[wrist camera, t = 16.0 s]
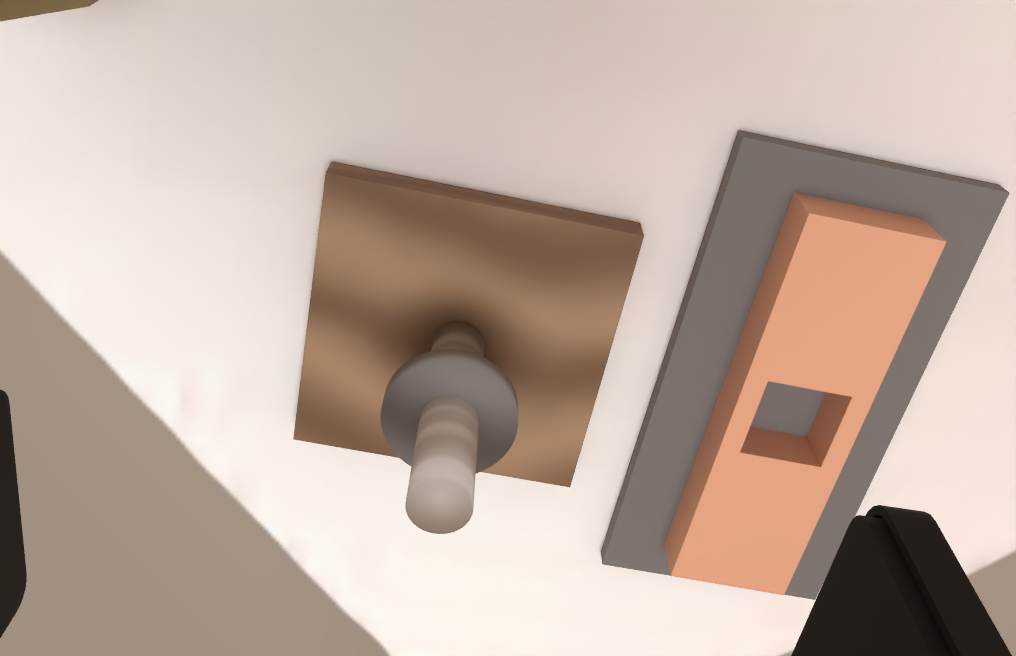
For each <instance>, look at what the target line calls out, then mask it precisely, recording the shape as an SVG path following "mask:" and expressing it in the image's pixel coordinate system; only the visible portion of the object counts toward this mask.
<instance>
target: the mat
mask: <svg viewBox="0 0 1016 656" xmlns="http://www.w3.org/2000/svg"><path fill="white" fill-rule="evenodd" d="M794 192H795V193H800V194H805V195H810V196H814V197H819V198H824V199H829V200H834V201H838V202H843V203H848V204H853V205H858V206H862V207H867V208H872V209H877V210H882V211H887V212H891V213H896V214H901V215H906V216H911V217H915V218H920V219H924V220H925V221H926V222H927V223H928V224H929V225H930V226H931V227H932V228H933V229H934V230H935V231H936V232H937V233H938V234H939V235H940V236H941V237H942V238H943V239H944V240H945V241H946V244H945V246H944V248H943V251H942V253H941V255H940V257H939V259H938V262H937V264H936V266H935V268H934V270H933V272H932V275H931V277H930V279H929V281H928V283H927V285H926V288H925V290H924V292H923V294H922V296H921V298H920V301H919V303H918V305H917V307H916V309H915V311H914V314H913V316H912V318H911V320H910V322H909V325H908V327H907V329H906V331H905V333H904V335H903V338H902V340H901V342H900V344H899V346H898V348H897V351H896V353H895V355H894V357H893V359H892V361H891V364H890V366H889V368H888V370H887V372H886V374H885V377H884V379H883V381H882V383H881V385H880V388H879V390H878V392H877V394H876V396H875V398H874V401H873V403H872V405H871V407H870V409H869V411H868V414H867V416H866V418H865V420H864V422H863V424H862V427H861V429H860V431H859V433H858V435H857V437H856V440H855V442H854V444H853V446H852V448H851V450H850V453H849V455H848V457H847V459H846V461H845V464H844V466H843V468H842V470H841V472H840V474H839V477H838V479H837V481H836V483H835V485H834V487H833V490H832V492H831V494H830V496H829V498H828V500H827V503H826V505H825V507H824V509H823V511H822V513H821V516H820V518H819V520H818V522H817V524H816V527H815V529H814V531H813V533H812V535H811V537H810V540H809V542H808V544H807V546H806V548H805V550H804V553H803V555H802V557H801V559H800V561H799V563H798V566H797V568H796V570H795V572H794V574H793V576H792V579H791V581H790V583H789V585H788V587H787V590H786V592H785V594H784V595H790V596H796V597H802V598H808V599H814V600H815V599H816V597H817V595H818V592H819V590H820V588H821V586H822V584H823V582H824V580H825V578H826V576H827V574H828V571H829V569H830V567H831V565H832V562H833V560H834V558H835V556H836V553H837V551H838V549H839V547H840V544H841V542H842V540H843V538H844V535H845V533H846V531H847V528H848V526H849V524H850V523H851V521H852V519H853V518H854V517H855V515H856V513H857V511H858V509H859V507H860V505H861V502H862V500H863V498H864V496H865V494H866V492H867V490H868V488H869V486H870V484H871V482H872V479H873V477H874V475H875V473H876V471H877V469H878V467H879V465H880V463H881V461H882V459H883V456H884V454H885V452H886V450H887V448H888V446H889V444H890V442H891V440H892V438H893V435H894V433H895V431H896V429H897V427H898V425H899V423H900V421H901V419H902V417H903V415H904V412H905V410H906V408H907V406H908V404H909V402H910V400H911V398H912V396H913V394H914V392H915V389H916V387H917V385H918V383H919V381H920V379H921V377H922V375H923V373H924V371H925V369H926V366H927V364H928V362H929V360H930V358H931V356H932V354H933V352H934V350H935V348H936V346H937V343H938V341H939V339H940V337H941V335H942V333H943V331H944V329H945V327H946V325H947V322H948V320H949V318H950V316H951V314H952V312H953V310H954V308H955V306H956V304H957V302H958V299H959V297H960V295H961V293H962V291H963V289H964V287H965V285H966V283H967V281H968V279H969V276H970V274H971V272H972V270H973V268H974V266H975V264H976V262H977V260H978V258H979V256H980V253H981V251H982V249H983V247H984V245H985V243H986V241H987V239H988V237H989V235H990V233H991V230H992V228H993V226H994V224H995V222H996V220H997V218H998V216H999V214H1000V212H1001V210H1002V207H1003V205H1004V203H1005V201H1006V199H1007V197H1008V195H1009V192H1008V191H1006V190H1005V189H1004V188H1003V187H1001V186H1000V185H997V184H992V183H987V182H983V181H978V180H973V179H968V178H963V177H959V176H954V175H949V174H944V173H940V172H935V171H930V170H925V169H921V168H916V167H911V166H906V165H901V164H897V163H892V162H887V161H882V160H878V159H873V158H868V157H863V156H858V155H854V154H849V153H844V152H839V151H835V150H830V149H825V148H820V147H815V146H811V145H806V144H801V143H796V142H792V141H787V140H782V139H777V138H772V137H768V136H763V135H758V134H753V133H749V132H744V131H739V130H738V133H737V136H736V140H735V143H734V146H733V149H732V152H731V155H730V158H729V161H728V164H727V167H726V170H725V173H724V176H723V179H722V182H721V185H720V188H719V192H718V195H717V198H716V201H715V204H714V207H713V210H712V213H711V216H710V219H709V222H708V225H707V228H706V231H705V234H704V237H703V241H702V244H701V247H700V250H699V253H698V256H697V259H696V262H695V265H694V268H693V271H692V274H691V277H690V280H689V283H688V286H687V290H686V293H685V296H684V299H683V302H682V305H681V308H680V311H679V314H678V317H677V320H676V323H675V326H674V329H673V332H672V335H671V339H670V342H669V345H668V348H667V351H666V354H665V357H664V360H663V363H662V366H661V369H660V372H659V375H658V378H657V381H656V384H655V388H654V391H653V394H652V397H651V400H650V403H649V406H648V409H647V412H646V415H645V418H644V421H643V424H642V427H641V430H640V433H639V436H638V440H637V443H636V446H635V449H634V452H633V455H632V458H631V461H630V464H629V467H628V470H627V473H626V476H625V479H624V482H623V485H622V489H621V492H620V495H619V498H618V501H617V504H616V507H615V510H614V513H613V516H612V519H611V522H610V525H609V528H608V531H607V534H606V538H605V541H604V544H603V547H602V550H601V557H602V564H604V565H610V566H616V567H622V568H628V569H634V570H640V571H646V572H652V573H658V574H664V575H670V576H671V574H670V569H669V564H668V559H667V554H666V549H665V544H664V543H665V540H666V537H667V534H668V532H669V529H670V526H671V524H672V521H673V518H674V515H675V513H676V510H677V507H678V505H679V502H680V499H681V497H682V494H683V491H684V488H685V486H686V483H687V480H688V478H689V475H690V472H691V469H692V467H693V464H694V461H695V459H696V456H697V453H698V450H699V448H700V445H701V442H702V440H703V437H704V434H705V432H706V429H707V426H708V423H709V421H710V418H711V415H712V413H713V410H714V407H715V404H716V402H717V399H718V396H719V394H720V391H721V388H722V386H723V383H724V380H725V377H726V375H727V372H728V369H729V367H730V364H731V361H732V358H733V356H734V353H735V350H736V348H737V345H738V342H739V339H740V337H741V334H742V331H743V329H744V326H745V323H746V321H747V318H748V315H749V312H750V310H751V307H752V304H753V302H754V299H755V296H756V293H757V291H758V288H759V285H760V283H761V280H762V277H763V274H764V272H765V269H766V266H767V264H768V261H769V258H770V256H771V253H772V250H773V247H774V245H775V242H776V239H777V237H778V234H779V231H780V228H781V226H782V223H783V220H784V218H785V215H786V212H787V209H788V207H789V204H790V201H791V199H792V196H793V193H794ZM825 394H826V392H823V391H818V390H813V389H807V388H802V387H797V386H791V385H786V384H781V383H776V382H770V381H768V383H767V385H766V388H765V390H764V393H763V395H762V398H761V400H760V403H759V405H758V408H757V410H756V413H755V416H754V418H753V421H752V423H751V426H750V427H755V428H761V429H766V430H771V431H777V432H782V433H788V434H793V435H798V436H804V437H807V436H808V434H809V431H810V429H811V427H812V424H813V422H814V420H815V417H816V415H817V413H818V410H819V408H820V406H821V403H822V401H823V399H824V397H825Z"/></svg>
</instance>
